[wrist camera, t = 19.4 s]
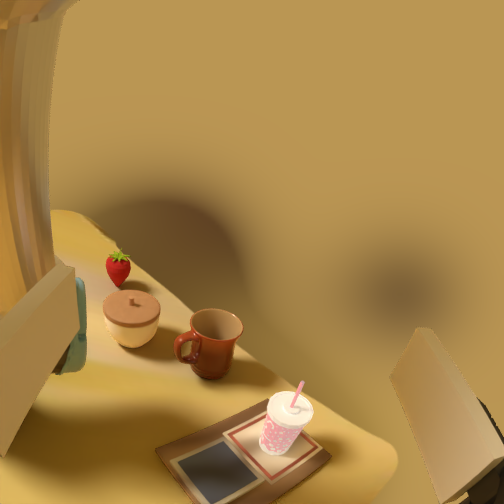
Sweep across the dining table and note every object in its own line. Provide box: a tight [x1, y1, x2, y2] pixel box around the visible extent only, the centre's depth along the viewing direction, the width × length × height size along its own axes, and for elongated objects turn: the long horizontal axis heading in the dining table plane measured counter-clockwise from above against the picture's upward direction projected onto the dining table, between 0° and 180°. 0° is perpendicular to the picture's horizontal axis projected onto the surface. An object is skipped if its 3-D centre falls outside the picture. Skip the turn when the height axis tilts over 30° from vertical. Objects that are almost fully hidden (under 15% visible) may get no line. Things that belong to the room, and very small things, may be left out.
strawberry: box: [106, 250, 131, 286], centre depth 71 cm, size 6×8×10 cm
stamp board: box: [156, 399, 332, 504], centre depth 39 cm, size 15×21×2 cm
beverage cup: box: [259, 381, 313, 455], centre depth 39 cm, size 6×6×14 cm
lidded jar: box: [103, 290, 160, 348], centre depth 56 cm, size 11×11×9 cm
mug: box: [173, 309, 243, 379], centre depth 53 cm, size 12×9×10 cm
